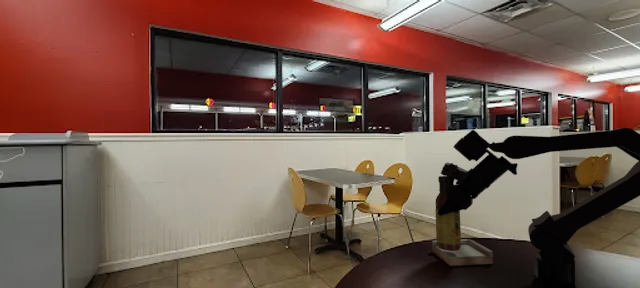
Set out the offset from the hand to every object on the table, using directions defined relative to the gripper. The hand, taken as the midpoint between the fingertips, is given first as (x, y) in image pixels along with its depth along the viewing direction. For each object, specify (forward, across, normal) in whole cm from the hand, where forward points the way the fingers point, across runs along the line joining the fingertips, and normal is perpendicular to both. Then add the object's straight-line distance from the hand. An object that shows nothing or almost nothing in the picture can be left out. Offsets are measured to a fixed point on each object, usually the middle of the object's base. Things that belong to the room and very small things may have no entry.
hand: (441, 211), depth 79 cm
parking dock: (+7, -4, +12) cm, 15 cm away
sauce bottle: (+6, 0, +8) cm, 10 cm away
